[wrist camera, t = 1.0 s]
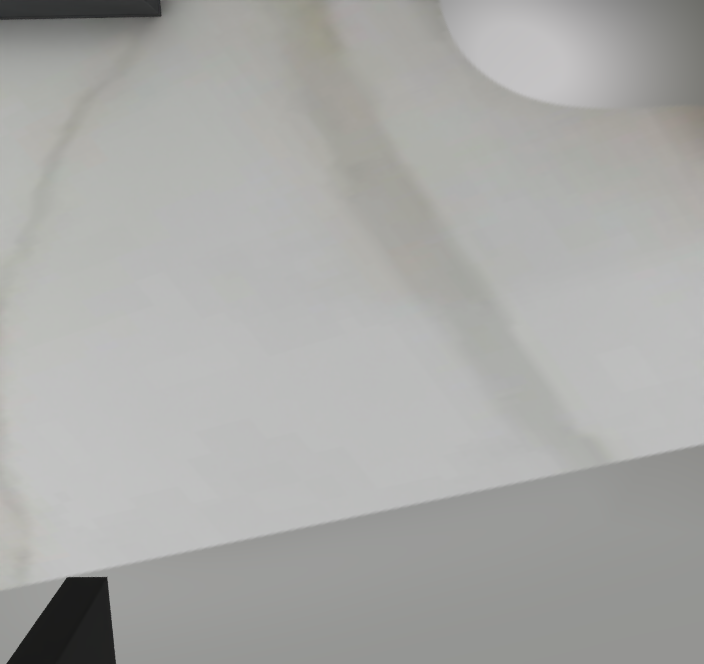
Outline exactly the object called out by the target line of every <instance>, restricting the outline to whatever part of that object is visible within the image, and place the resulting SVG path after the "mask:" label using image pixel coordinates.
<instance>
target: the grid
mask: <svg viewBox="0 0 704 664" xmlns="http://www.w3.org/2000/svg"><path fill="white" fill-rule="evenodd" d="M154 16H161V7H160V0H0V20H3V19H53V18H103V17H154Z"/></svg>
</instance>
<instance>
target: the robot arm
mask: <svg viewBox="0 0 704 664" xmlns="http://www.w3.org/2000/svg"><path fill="white" fill-rule="evenodd" d="M7 664H116V660H115V650H114V640H113V630H112V620H111V610H110V601H109V591H108V581H107V577H67V578H66V580H65V581H64V583H63V584H62V585H61V587H60V588H59V590H58V591H57V593H56V594H55V595H54V597H53V598H52V600H51V601H50V603H49V604H48V605H47V607H46V608H45V610H44V611H43V613H42V614H41V615H40V617H39V618H38V620H37V621H36V622H35V624H34V625H33V627H32V628H31V630H30V631H29V633H28V634H27V635H26V637H25V638H24V640H23V641H22V642H21V644H20V645H19V647H18V648H17V650H16V651H15V652H14V654H13V655H12V657H11V658H10V660H9V661H8V662H7Z"/></svg>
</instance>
